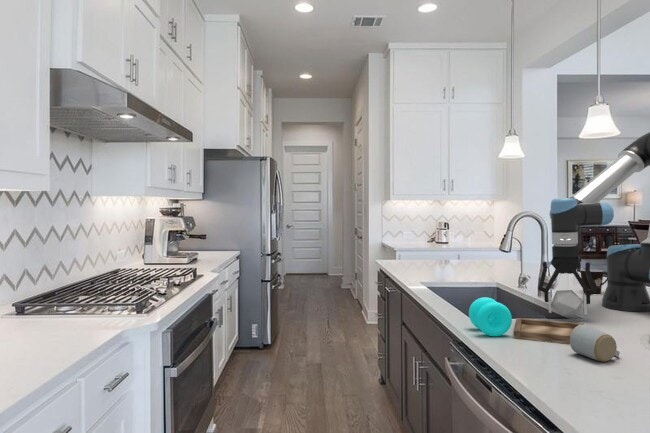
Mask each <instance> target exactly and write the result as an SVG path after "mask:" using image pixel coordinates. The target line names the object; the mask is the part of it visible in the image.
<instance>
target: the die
mask: <svg viewBox="0 0 650 433" xmlns="http://www.w3.org/2000/svg"><path fill="white" fill-rule="evenodd" d="M551 307H553V308H554V310H556V311H557V312H558V313H559V314H560V315H561V316H562V317H565V316H578V315H579V313H580V311H581V308H582V307H583V298H581V297H580V296H579V295H578V294H577V293H576V292H574V291H573V290H572V289H567V290H566V289H564V290H556V291H555V293H554V296H553V298H552V300H551Z"/></svg>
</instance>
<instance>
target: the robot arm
mask: <svg viewBox="0 0 650 433" xmlns="http://www.w3.org/2000/svg"><path fill="white" fill-rule="evenodd" d="M647 167H650V132H649V131H648V132H647V133H645V134H644V135H642V136H640V137H638V138H637V139H636V140H634V141H633V142H631V143H630V144H629V145H628V146H626V147H625V148H624V149H622V151H620V152H619V153H618V156H617V158H616V159H614V161H612V163H610V164H609V165H608V166H607V167H606V168H604V169H603V170H602V171H600V172H599V173H598V174H597V175H595V176H594V177H593V178H592V179H591V180H589V181H588V182H587V183H586V184H585V185H584V186H582V187H581V188H580V189H578V191H576V192H575V193H574V194H573V195H571V196H570V197H568V198H562V197H561V198H553V199H552V200H551V202H550V209H549V218H550V220H551V223H550V224H551V226H550V228H551V244H552V245H553V246H552V247H551V253H552V255H551V257H552V259H551V261H549V260H548V261H546V260H543V261H542V271H541V275H540V278H539V279H540V280H539V283H538V286H537V290H538V291H539V292H543V295H544V302H545V303H548V314H552V305H551V303H552V293H551V291H550V290H551V288H552V287H553V285H554V282H555V281H556V280H557V277H558V276H559V274H561V275H562V274H564V275H565V274H568V275H572V274H573V276H574V277H575V278H576V280H577V282H578V283H579V285H580V287H581V288H582V291H583V290H584V291H585V293H583V292H582V300H583V303H582V309H583V310H582V311H583V312H582V313H583V315H584V316H588V312H587V310H588V306H587V305H591V296H592V295H591V294H592V293H596V292H597V290H596V287H595V284H594V281H593V278H592V275H591V272H590V269H591V263H590V262H589V261H580V259H579V246H578V244H579V237H578V236H579V235H578V234H579V233H578V231H579V229H578V228H579V227H592V226H593V227H594V226H597V227H601V226H607V225H609V224H610V223H612V222H613V220H614V216H615V215H614V211H615V210H614V208H613V206H611V204H609V203H607V202H601V201H602V200H604V199H605V197H607V196H608V195H609V194H611V193H612V192H613V191H614V190H615V189H616V188H618V187H619V186H620V185H622V183H624V182H625V181H626V180H628V179H629V178H630V177H631V176H632V175H634V173H640V172H642V171H643V170H645V169H646V168H647ZM648 226H649V227H648V231H647V232H648V234H647V236H646V237H647V238H645V239H644V240H643V241H641V242H640V244H639V243H636V244H618V245H617V244H615V245H609V246H608V248H607V250H606V270H607V271H606V273H607V275H606V279H607V282H606V288H605V291H604V293H603V297H602V299H601V305H602V306H603V307H604V308H607V309H612V310H617V311H625V312H650V295H649V292H648V291H647V284H650V224H649V225H648ZM550 266H552V267H553V268H554V271H553V273H552V275H551V276H550V279H549V280H548V282H547V283H546V285H545V287H544V283H545V281H546V275H547V272H548V269H549V268H550ZM580 266H581V267H582V269H585V272H586V275H587V278H588V281H589V284H590V287H591V289H588V288H587V287H586V285H585V283H584V282H583V280H582V279H581V275H580V274H579V272H578V271H577V269H578V268H579V267H580Z"/></svg>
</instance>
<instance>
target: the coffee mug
mask: <svg viewBox="0 0 650 433" xmlns="http://www.w3.org/2000/svg"><path fill="white" fill-rule="evenodd" d="M579 271H580V272H579V273H580V277H581V279H582V280H583V282H584V283H585V285H586V287H587V288H588V289H591V287H590V284H589V281H588V278H587V275H586V272H585V269H584V268H581V269H579ZM590 272H591V275H592V278H593V281H594V284H595V287H596V290H597V292H596V293H592V294H602V288H603V287H602V286H603V285H605V284H607V278H606V279H605V280H604V281H603V279H604V275H605V276H607V272H604V270H601V269H594V268H590ZM583 292H584V293H585V291H584V290H583V289H582V293H583Z"/></svg>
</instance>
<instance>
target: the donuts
mask: <svg viewBox="0 0 650 433" xmlns="http://www.w3.org/2000/svg"><path fill="white" fill-rule="evenodd" d="M512 317H513V316H512V313H511V311H510V309H509V308H508V307H507V305H504V303H501V302H498V301H496V300H495V299H494V298H491V297H488V296H487V297H486V296H484V297H483V296H482V297H478V298H477V299H475V300H474V301H472V303H471V305H470V307H469V310H468V318H469V320H470V322H471V324H473V326H474V327H476V328H477V329H479V330H480V331H481V332H482V333H483V334H485V335H487V336H489V337H500V336H503V335H505V334H506V333H507V332H508V331H509V330H510V328H511V325H512V324H513V323H512V322H513V320H512V319H513V318H512Z"/></svg>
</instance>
